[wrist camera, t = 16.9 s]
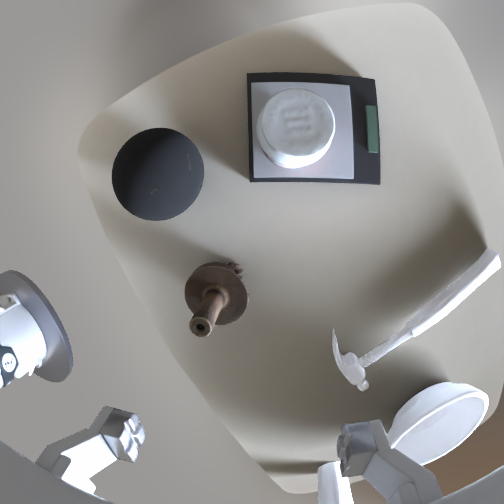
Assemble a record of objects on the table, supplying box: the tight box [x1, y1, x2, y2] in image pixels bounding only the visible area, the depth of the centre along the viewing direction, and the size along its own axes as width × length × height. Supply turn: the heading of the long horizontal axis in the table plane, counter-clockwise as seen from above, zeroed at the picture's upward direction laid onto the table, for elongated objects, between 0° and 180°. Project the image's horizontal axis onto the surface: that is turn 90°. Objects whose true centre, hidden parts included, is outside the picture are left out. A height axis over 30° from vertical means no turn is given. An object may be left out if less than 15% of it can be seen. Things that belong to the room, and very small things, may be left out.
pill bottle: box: [256, 88, 335, 168], centre depth 22 cm, size 6×6×11 cm
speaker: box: [112, 128, 204, 221], centre depth 28 cm, size 10×10×10 cm
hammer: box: [332, 248, 501, 391], centre depth 33 cm, size 12×30×3 cm, turn 128°
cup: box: [318, 462, 353, 504], centre depth 39 cm, size 8×8×14 cm
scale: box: [247, 72, 380, 185], centre depth 28 cm, size 15×13×3 cm
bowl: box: [387, 382, 488, 466], centre depth 36 cm, size 22×22×8 cm
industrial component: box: [185, 262, 249, 337], centre depth 30 cm, size 9×7×12 cm
